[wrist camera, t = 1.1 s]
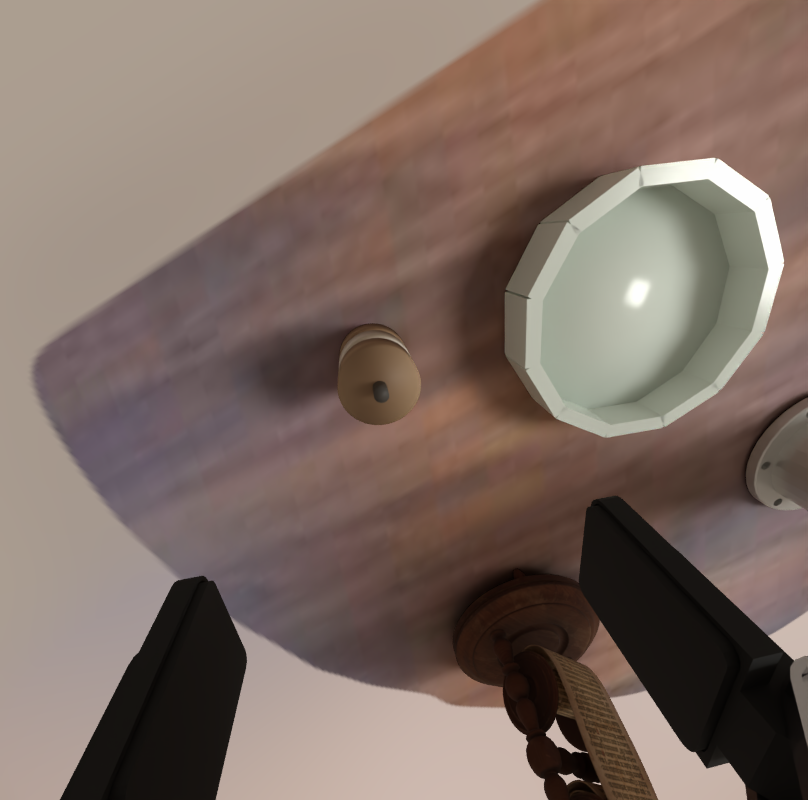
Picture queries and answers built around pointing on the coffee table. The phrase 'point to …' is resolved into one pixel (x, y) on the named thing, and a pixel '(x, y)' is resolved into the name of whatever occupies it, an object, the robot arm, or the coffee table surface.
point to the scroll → (551, 685)
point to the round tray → (643, 295)
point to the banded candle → (377, 375)
